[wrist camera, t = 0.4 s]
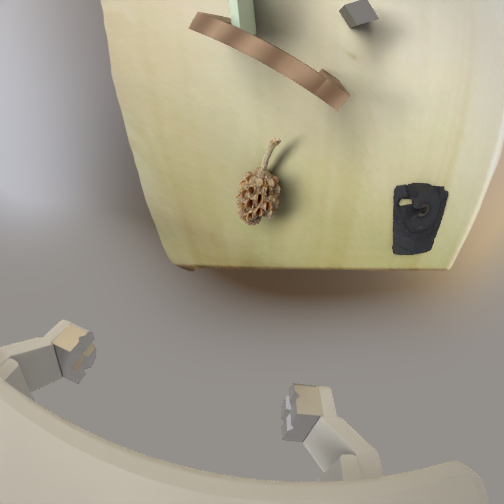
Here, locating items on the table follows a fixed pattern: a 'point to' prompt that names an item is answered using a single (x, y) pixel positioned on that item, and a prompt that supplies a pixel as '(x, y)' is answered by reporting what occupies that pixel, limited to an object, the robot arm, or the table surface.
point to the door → (243, 15)
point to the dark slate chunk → (417, 217)
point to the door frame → (272, 57)
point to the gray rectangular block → (358, 13)
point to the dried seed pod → (259, 191)
